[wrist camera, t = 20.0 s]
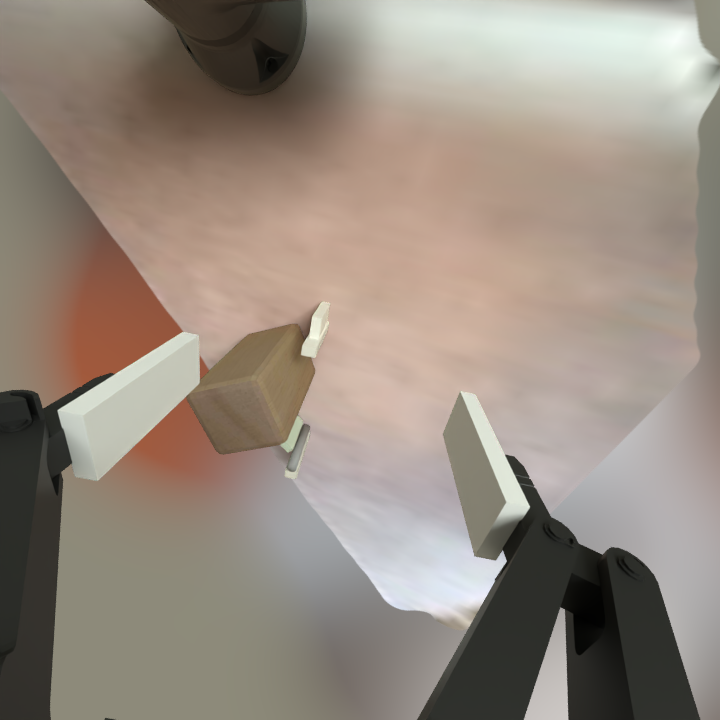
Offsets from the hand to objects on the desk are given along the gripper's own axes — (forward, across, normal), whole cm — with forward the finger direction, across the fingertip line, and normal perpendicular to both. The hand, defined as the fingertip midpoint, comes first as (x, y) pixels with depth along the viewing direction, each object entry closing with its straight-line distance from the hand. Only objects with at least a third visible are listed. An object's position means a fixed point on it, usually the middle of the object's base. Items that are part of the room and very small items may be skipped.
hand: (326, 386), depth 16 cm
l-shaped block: (+37, -5, -23) cm, 43 cm away
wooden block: (+37, -11, -18) cm, 43 cm away
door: (+36, -14, -26) cm, 47 cm away
